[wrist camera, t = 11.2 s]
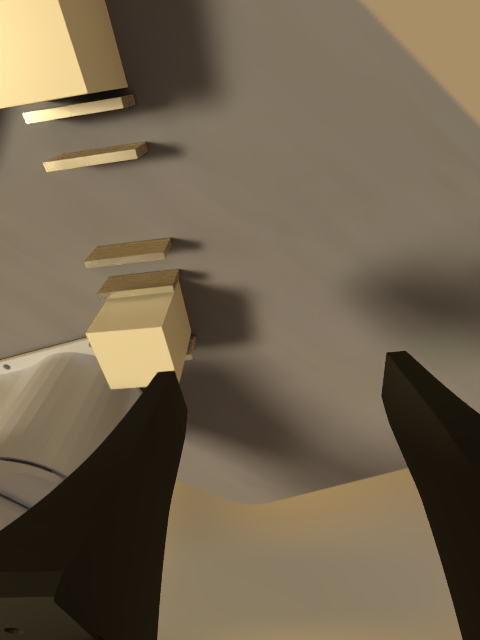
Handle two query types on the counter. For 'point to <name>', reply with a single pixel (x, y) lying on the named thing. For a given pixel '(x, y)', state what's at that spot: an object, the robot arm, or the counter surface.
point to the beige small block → (140, 338)
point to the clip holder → (125, 251)
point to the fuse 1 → (56, 51)
